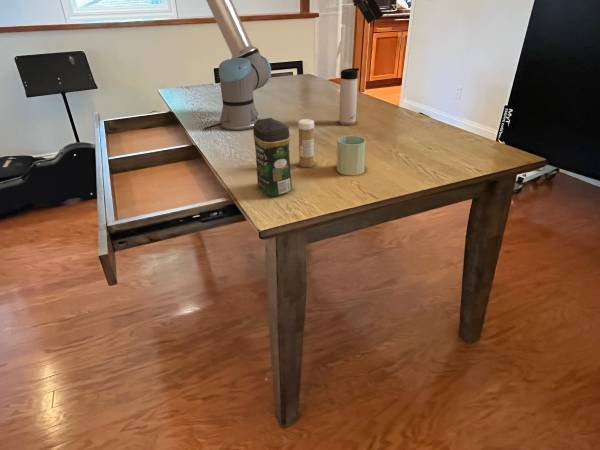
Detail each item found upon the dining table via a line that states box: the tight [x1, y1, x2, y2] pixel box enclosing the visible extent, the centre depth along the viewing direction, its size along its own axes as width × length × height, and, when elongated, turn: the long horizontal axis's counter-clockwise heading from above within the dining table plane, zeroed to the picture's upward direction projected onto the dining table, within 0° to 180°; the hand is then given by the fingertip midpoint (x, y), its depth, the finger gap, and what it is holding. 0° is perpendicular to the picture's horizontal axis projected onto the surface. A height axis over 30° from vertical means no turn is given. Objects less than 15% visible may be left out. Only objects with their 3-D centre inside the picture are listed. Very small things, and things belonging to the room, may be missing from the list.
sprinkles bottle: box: [297, 118, 315, 168], centre depth 121 cm, size 5×5×13 cm
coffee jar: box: [252, 117, 293, 197], centre depth 105 cm, size 10×8×19 cm
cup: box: [336, 134, 367, 176], centre depth 118 cm, size 8×8×9 cm
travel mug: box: [338, 67, 360, 126], centre depth 154 cm, size 6×7×20 cm
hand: (376, 19), depth 137 cm, fingers open, 13 cm apart
